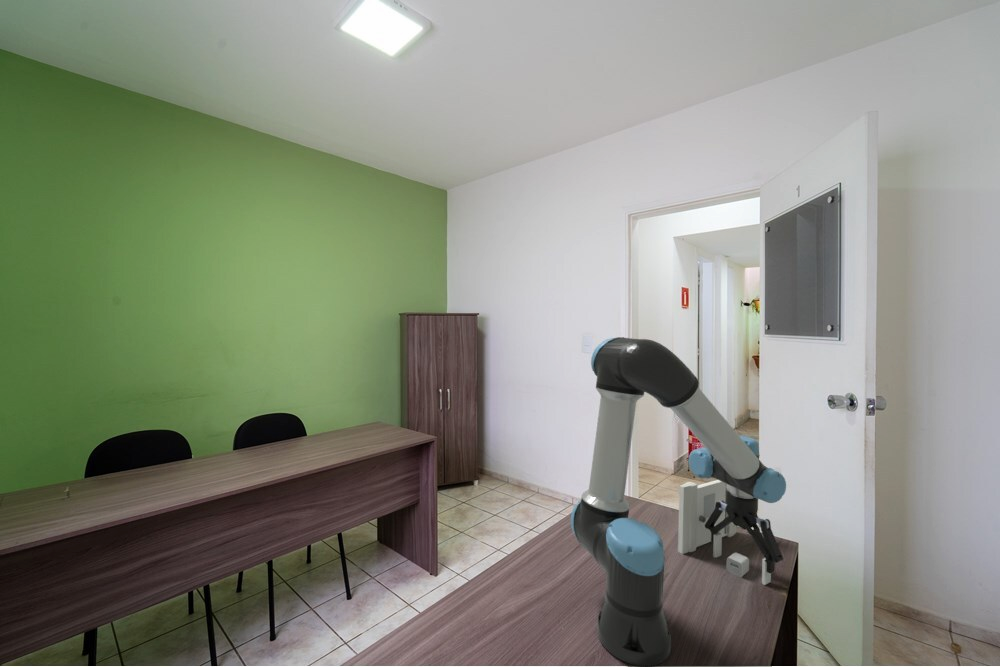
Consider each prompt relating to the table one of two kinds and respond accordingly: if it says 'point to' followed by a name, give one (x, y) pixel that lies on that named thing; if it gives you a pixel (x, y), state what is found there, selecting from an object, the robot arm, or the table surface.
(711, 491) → the door
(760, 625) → the table surface
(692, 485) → the door frame
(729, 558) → the usb wall charger
